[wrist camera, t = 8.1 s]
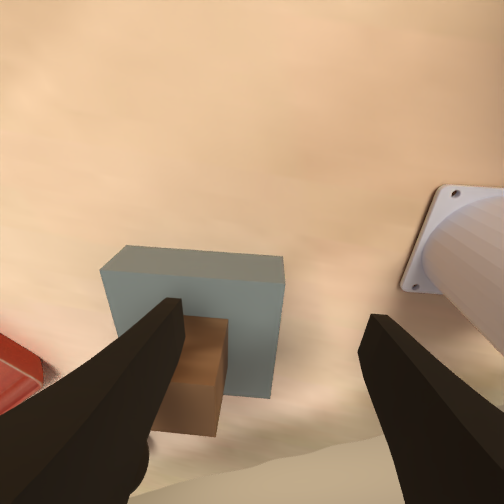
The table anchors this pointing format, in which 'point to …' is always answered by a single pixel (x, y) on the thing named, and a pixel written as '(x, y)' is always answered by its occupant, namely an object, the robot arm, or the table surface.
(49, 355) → the table surface
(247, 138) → the table surface
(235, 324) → the slate-blue block
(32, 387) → the plant saucer
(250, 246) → the table surface
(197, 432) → the walnut cube
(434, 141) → the table surface
